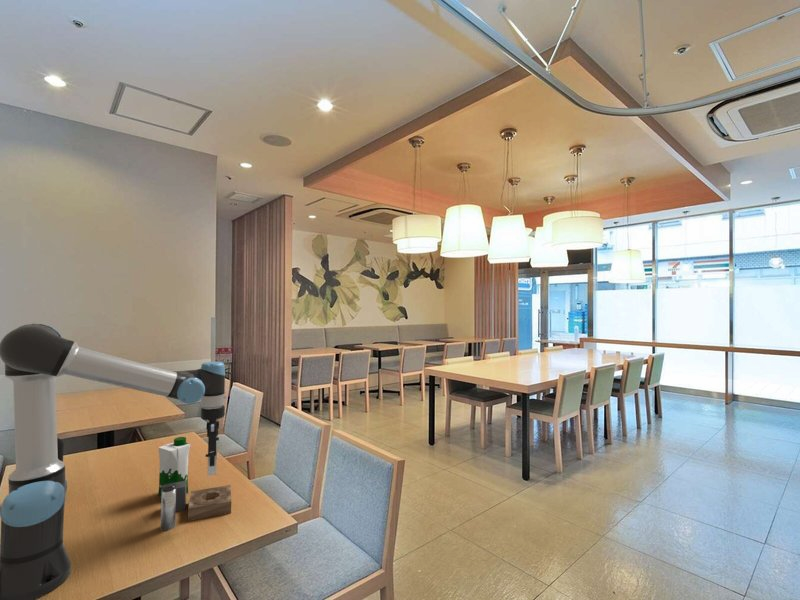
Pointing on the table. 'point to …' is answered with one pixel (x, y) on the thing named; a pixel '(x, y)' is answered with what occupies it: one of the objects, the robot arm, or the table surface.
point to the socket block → (209, 502)
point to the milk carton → (174, 463)
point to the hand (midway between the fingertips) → (212, 467)
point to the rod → (168, 506)
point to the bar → (180, 496)
